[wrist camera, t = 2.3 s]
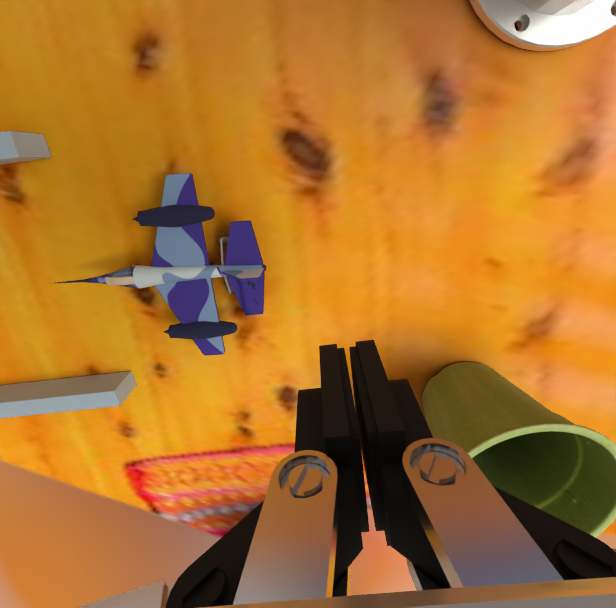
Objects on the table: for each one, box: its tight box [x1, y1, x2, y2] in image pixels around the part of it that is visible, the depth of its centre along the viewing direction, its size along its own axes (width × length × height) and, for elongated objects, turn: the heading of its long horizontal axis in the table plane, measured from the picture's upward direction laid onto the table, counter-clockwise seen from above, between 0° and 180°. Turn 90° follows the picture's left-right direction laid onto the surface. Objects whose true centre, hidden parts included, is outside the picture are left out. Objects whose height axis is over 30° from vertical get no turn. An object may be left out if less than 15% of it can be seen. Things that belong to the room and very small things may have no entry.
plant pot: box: [422, 362, 616, 538], centre depth 27 cm, size 12×12×11 cm
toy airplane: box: [57, 173, 266, 355], centre depth 27 cm, size 13×14×4 cm
